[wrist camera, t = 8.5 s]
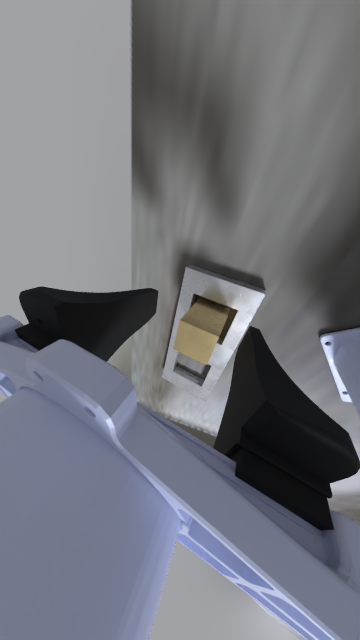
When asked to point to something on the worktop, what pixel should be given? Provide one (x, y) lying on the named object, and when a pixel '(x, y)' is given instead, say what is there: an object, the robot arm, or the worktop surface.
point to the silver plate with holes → (232, 296)
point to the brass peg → (201, 329)
